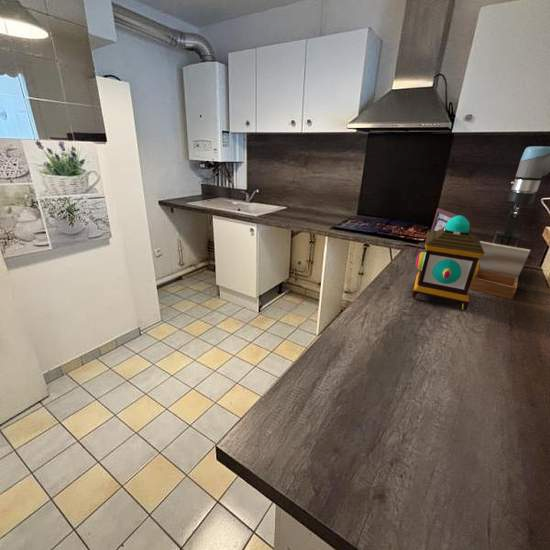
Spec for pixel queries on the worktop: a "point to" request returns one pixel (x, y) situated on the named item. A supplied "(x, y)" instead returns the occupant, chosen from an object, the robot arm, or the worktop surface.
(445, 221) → the picture frame
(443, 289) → the decorative lantern
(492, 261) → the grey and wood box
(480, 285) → the open wooden box
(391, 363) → the worktop surface
